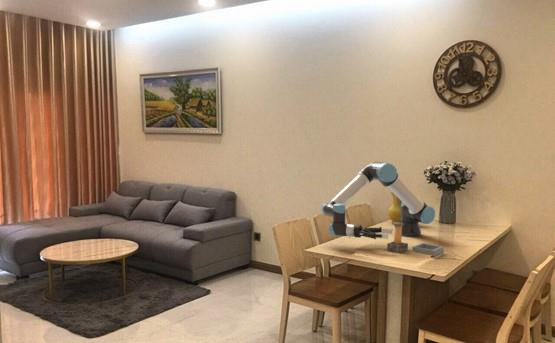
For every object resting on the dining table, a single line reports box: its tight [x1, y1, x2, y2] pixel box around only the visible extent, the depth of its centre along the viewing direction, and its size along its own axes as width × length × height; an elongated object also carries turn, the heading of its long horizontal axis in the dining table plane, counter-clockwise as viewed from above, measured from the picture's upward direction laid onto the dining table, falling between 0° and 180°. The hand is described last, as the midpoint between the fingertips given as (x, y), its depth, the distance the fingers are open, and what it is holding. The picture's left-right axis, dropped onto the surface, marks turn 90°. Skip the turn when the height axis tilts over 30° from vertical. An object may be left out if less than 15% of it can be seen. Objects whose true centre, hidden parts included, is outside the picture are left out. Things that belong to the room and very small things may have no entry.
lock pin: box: [392, 222, 403, 245], centre depth 265 cm, size 6×6×16 cm
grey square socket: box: [383, 240, 412, 255], centre depth 266 cm, size 12×12×6 cm
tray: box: [411, 242, 445, 259], centre depth 264 cm, size 13×13×4 cm
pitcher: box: [387, 191, 402, 225], centre depth 350 cm, size 17×19×25 cm
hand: (390, 233), depth 267 cm, fingers open, 13 cm apart
